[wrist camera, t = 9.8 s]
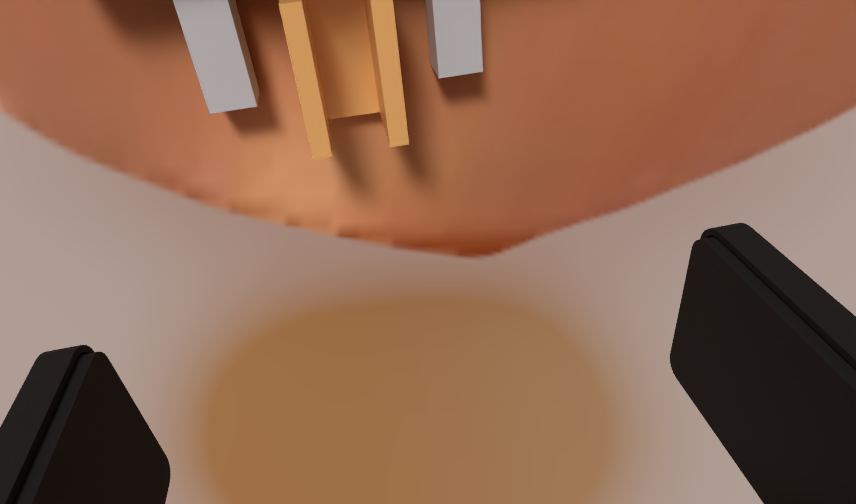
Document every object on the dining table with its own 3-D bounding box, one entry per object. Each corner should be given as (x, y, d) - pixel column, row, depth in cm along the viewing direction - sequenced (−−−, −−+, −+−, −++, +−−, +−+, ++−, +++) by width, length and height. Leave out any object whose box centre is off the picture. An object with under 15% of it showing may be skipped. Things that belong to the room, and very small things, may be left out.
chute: (376, -34, 25) (391, -11, 21) (393, 101, 28) (408, 144, 24) (282, -22, 24) (278, 4, 20) (311, 114, 28) (312, 159, 24)
